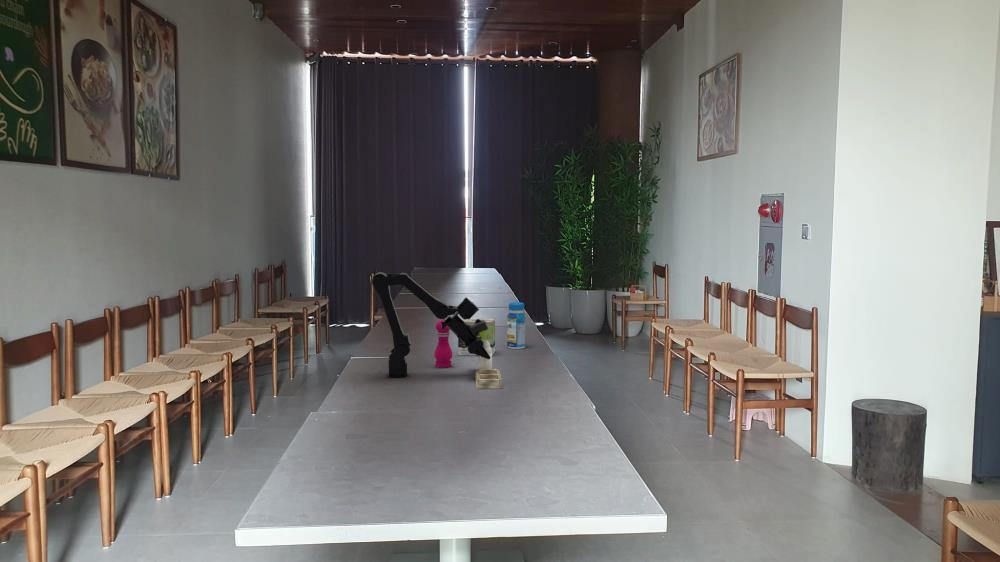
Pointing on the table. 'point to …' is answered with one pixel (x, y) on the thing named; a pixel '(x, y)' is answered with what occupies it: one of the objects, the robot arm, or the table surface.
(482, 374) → the divided wooden tray
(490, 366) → the white pawn figure
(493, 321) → the tea box
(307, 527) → the table surface
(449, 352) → the pepper mill
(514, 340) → the beverage bottle
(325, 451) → the table surface
